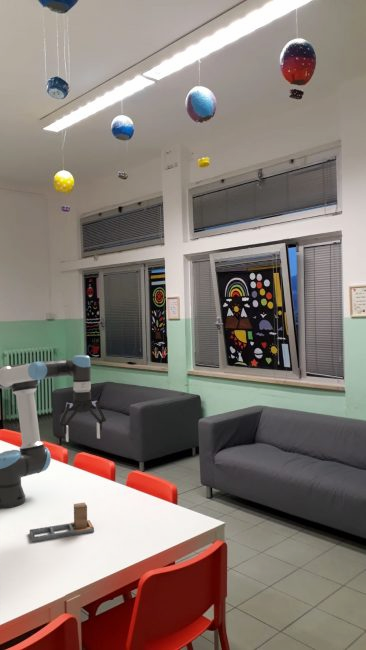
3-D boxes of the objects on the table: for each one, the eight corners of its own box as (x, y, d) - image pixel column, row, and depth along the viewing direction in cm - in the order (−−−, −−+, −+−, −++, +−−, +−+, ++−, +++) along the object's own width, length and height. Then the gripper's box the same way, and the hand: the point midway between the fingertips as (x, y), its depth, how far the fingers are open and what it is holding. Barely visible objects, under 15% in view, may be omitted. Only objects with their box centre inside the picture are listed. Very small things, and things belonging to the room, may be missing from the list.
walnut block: (74, 528, 206) (73, 504, 206) (85, 526, 208) (84, 502, 208) (76, 532, 202) (75, 507, 202) (87, 530, 204) (86, 506, 204)
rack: (29, 533, 202) (29, 529, 202) (89, 523, 211) (89, 519, 211) (31, 542, 194) (31, 538, 194) (94, 531, 202) (94, 527, 202)
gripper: (54, 393, 213) (54, 444, 213) (112, 390, 222) (113, 438, 222) (51, 391, 220) (52, 440, 220) (108, 388, 229) (109, 435, 229)
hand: (82, 439), depth 221 cm, fingers open, 13 cm apart
